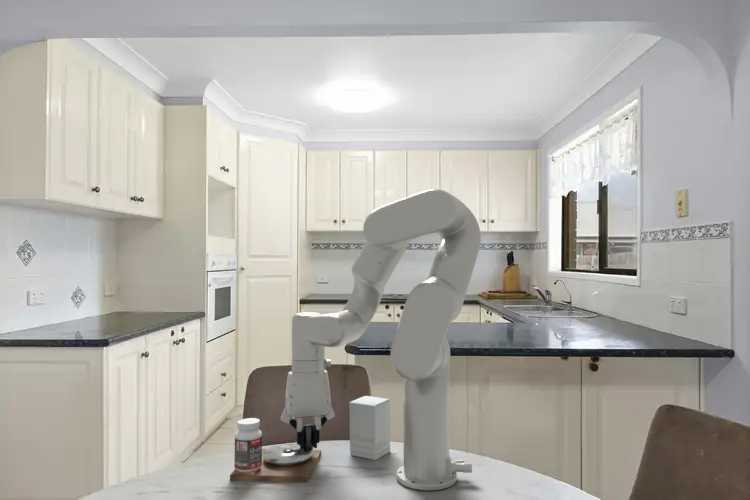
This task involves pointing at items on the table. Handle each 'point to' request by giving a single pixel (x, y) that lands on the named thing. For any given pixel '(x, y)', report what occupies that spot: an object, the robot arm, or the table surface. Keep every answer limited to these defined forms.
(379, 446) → the supplement box
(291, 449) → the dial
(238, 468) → the pill bottle
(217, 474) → the table surface
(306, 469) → the dial board
